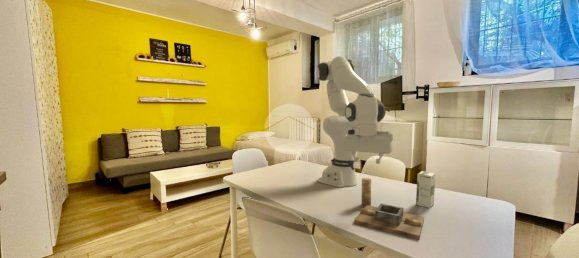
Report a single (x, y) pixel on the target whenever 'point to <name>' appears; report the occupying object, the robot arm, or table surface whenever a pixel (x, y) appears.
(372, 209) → the wooden socket board
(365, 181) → the pin
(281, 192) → the table surface
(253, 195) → the table surface
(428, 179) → the syrup box
